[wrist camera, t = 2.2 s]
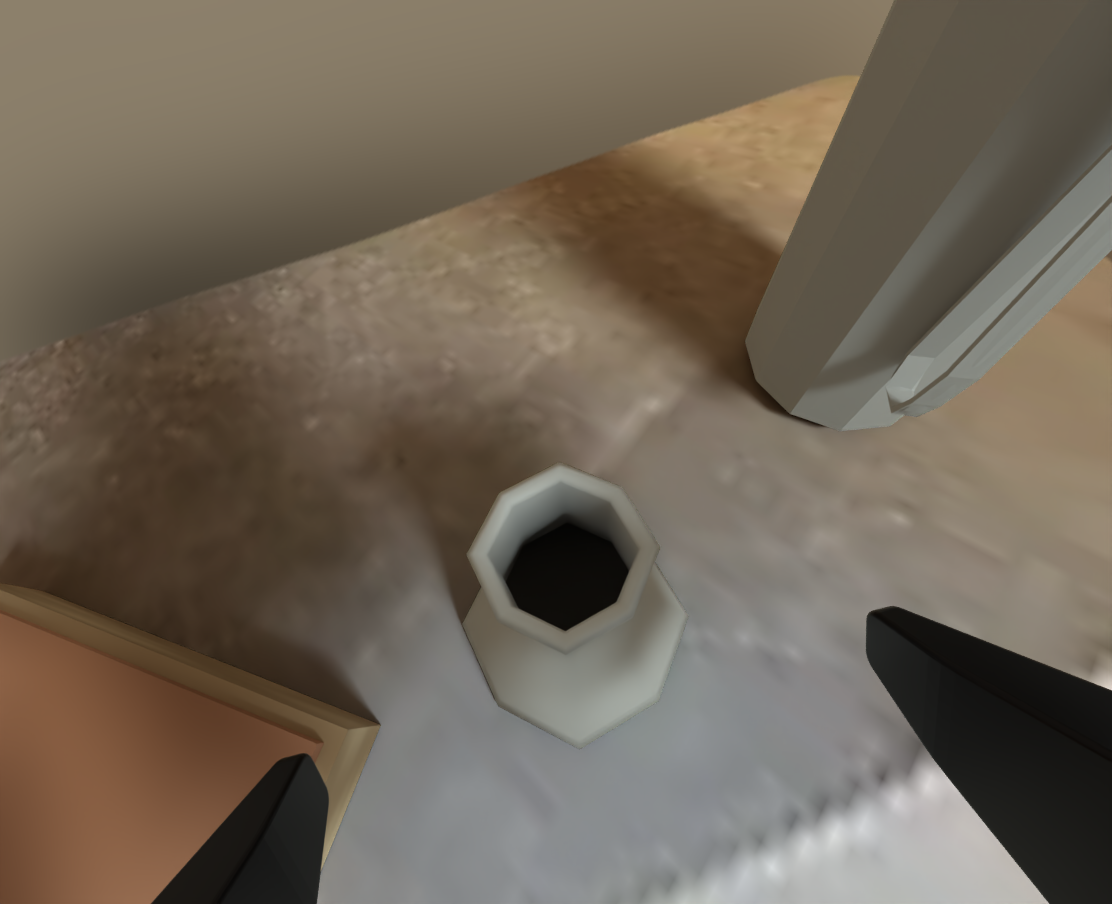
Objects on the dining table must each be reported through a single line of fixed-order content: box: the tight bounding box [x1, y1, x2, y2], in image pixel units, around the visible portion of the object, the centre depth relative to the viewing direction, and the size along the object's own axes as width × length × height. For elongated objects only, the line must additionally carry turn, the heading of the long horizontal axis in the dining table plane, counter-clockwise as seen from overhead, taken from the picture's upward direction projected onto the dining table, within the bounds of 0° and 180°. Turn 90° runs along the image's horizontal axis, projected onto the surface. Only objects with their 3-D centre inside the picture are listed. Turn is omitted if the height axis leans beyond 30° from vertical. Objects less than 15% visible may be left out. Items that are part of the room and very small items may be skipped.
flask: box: [462, 462, 689, 749], centre depth 14 cm, size 7×7×10 cm
